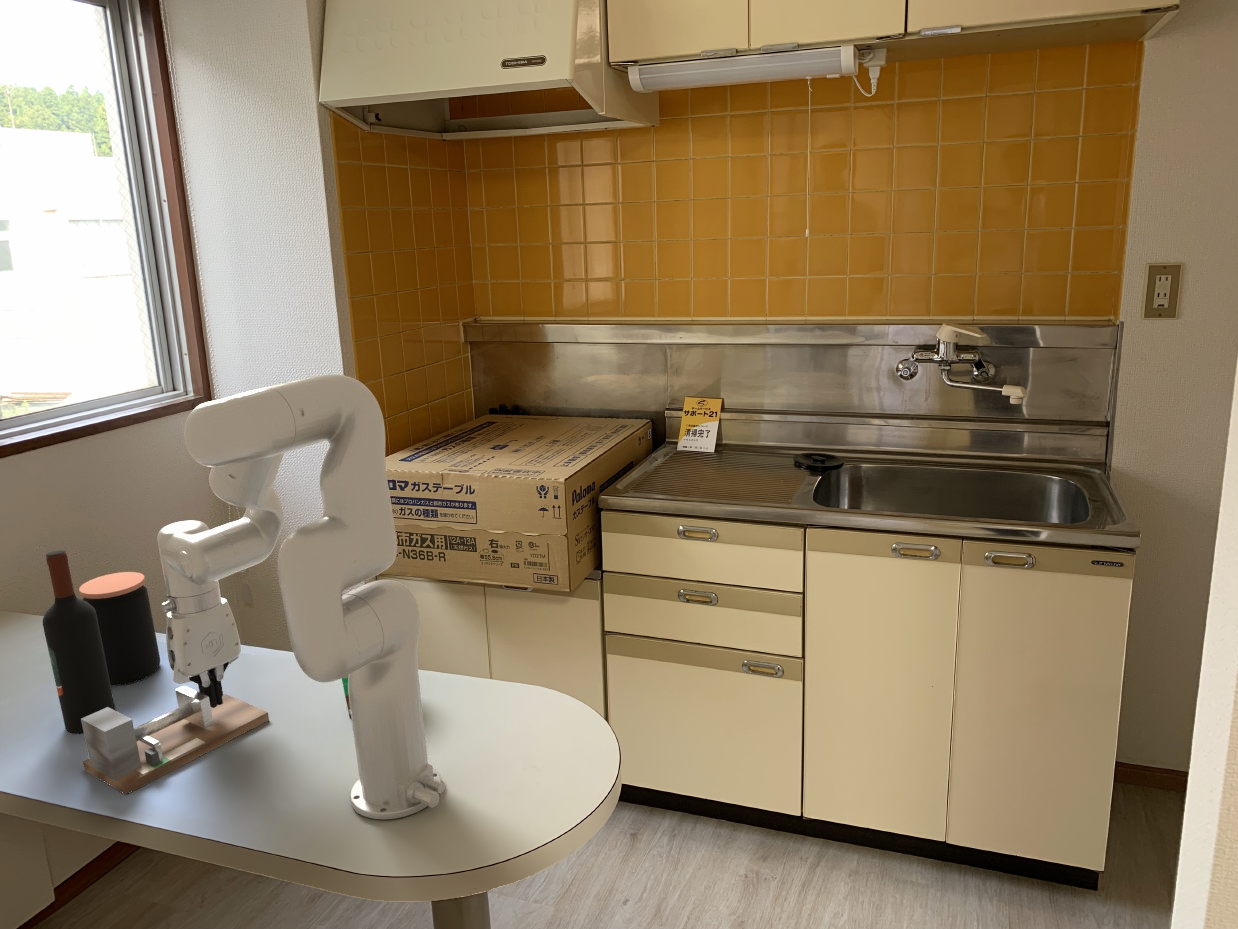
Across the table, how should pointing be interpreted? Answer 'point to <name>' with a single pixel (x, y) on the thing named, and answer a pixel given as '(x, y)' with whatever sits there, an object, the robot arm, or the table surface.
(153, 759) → the dark grey small block
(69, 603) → the wine bottle
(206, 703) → the plunger
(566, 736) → the table surface
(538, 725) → the table surface
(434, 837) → the table surface
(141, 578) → the coffee jar
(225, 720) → the gauge board
